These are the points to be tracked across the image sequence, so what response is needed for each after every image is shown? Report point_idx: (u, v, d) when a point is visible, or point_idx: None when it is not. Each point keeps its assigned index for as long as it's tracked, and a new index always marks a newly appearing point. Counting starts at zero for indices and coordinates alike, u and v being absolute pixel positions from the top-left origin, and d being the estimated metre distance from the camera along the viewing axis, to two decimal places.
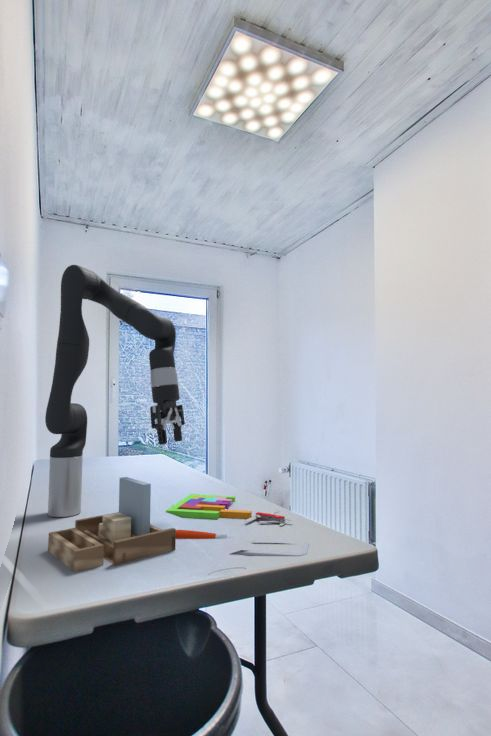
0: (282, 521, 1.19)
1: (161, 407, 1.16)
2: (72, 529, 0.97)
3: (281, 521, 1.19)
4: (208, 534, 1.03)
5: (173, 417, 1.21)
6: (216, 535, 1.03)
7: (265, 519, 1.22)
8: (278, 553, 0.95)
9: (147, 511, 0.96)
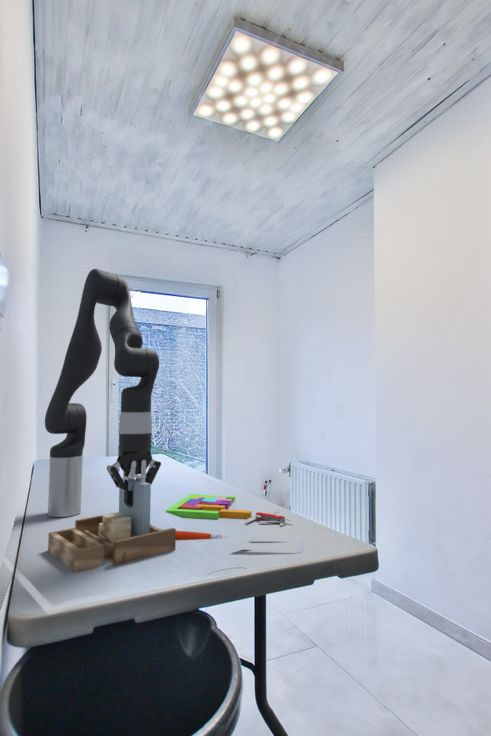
0: (282, 521, 1.19)
1: (120, 463, 0.98)
2: (72, 529, 0.97)
3: (281, 521, 1.19)
4: (203, 534, 1.03)
5: (136, 469, 1.01)
6: (211, 535, 1.03)
7: (265, 519, 1.22)
8: (275, 551, 0.96)
9: (147, 511, 0.96)
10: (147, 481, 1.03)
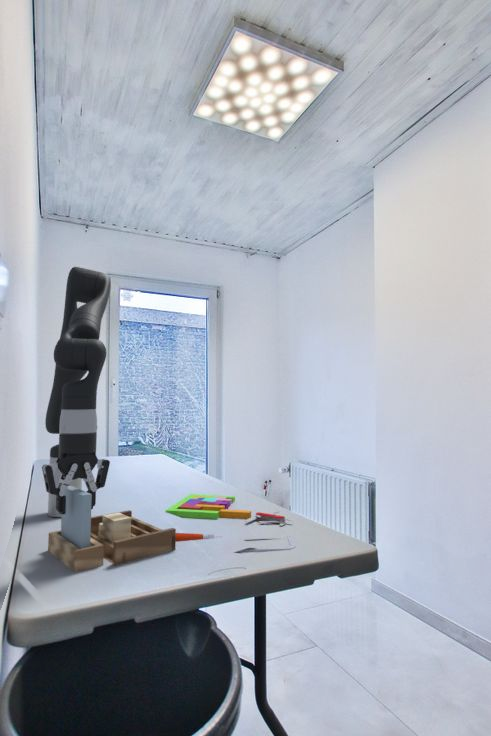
0: (282, 521, 1.19)
1: (58, 464, 0.88)
2: None
3: (281, 521, 1.19)
4: (195, 535, 1.02)
5: (80, 474, 0.91)
6: (203, 536, 1.03)
7: (265, 519, 1.22)
8: (270, 548, 0.98)
9: (87, 525, 0.86)
10: (99, 483, 0.94)
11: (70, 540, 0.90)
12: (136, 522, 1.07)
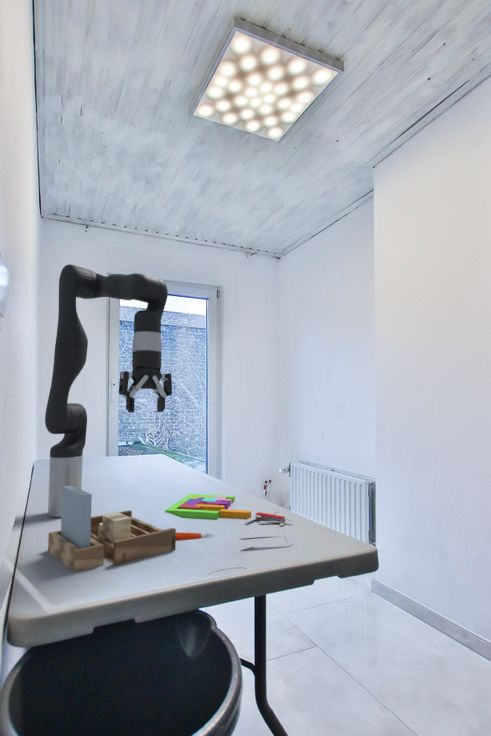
0: (282, 521, 1.19)
1: (133, 373, 1.10)
2: None
3: (281, 521, 1.19)
4: (194, 534, 1.03)
5: (151, 385, 1.12)
6: (202, 535, 1.03)
7: (265, 519, 1.22)
8: (269, 546, 1.00)
9: (87, 525, 0.86)
10: (167, 391, 1.16)
11: (70, 540, 0.90)
12: (136, 522, 1.07)
